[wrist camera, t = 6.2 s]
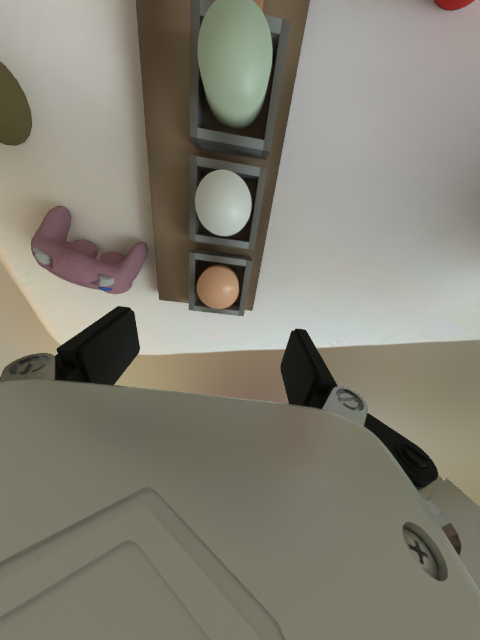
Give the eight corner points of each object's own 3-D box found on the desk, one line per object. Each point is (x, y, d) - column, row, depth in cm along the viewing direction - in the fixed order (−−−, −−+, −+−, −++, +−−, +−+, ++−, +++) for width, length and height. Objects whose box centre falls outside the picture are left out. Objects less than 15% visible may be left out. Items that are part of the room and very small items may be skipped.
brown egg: (241, 265, 21) (241, 271, 18) (236, 300, 23) (236, 311, 20) (202, 260, 21) (197, 265, 18) (200, 296, 23) (196, 306, 20)
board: (307, -12, 14) (336, -105, 10) (251, 304, 26) (253, 319, 22) (143, -54, 13) (101, -176, 9) (164, 294, 25) (151, 307, 21)
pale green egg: (271, 48, 13) (280, 3, 10) (259, 135, 15) (264, 116, 12) (206, 33, 12) (198, -18, 10) (204, 124, 14) (196, 102, 12)
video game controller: (71, 236, 23) (22, 271, 19) (57, 199, 19) (-7, 232, 15) (151, 269, 25) (122, 307, 21) (151, 241, 22) (117, 281, 17)
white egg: (253, 182, 16) (256, 175, 14) (245, 236, 18) (246, 239, 16) (202, 173, 16) (195, 164, 13) (200, 230, 18) (194, 232, 15)
